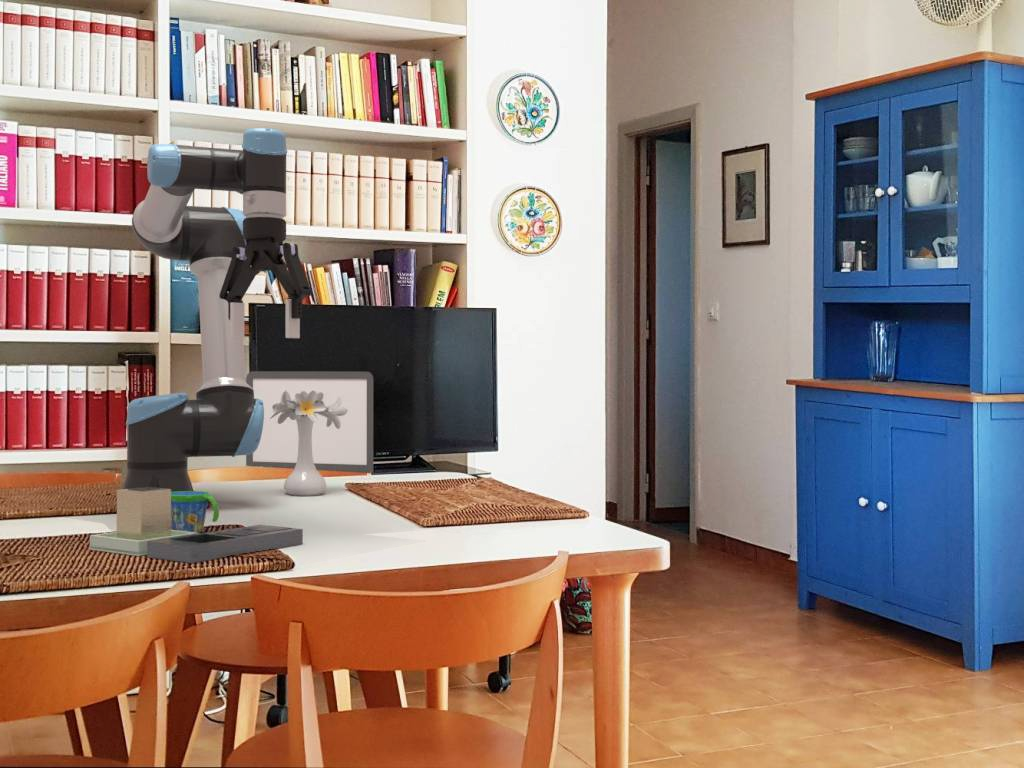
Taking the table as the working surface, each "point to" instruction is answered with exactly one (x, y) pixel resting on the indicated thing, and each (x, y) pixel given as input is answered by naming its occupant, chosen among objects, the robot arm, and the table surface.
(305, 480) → the flower vase
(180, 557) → the grey compartment tray
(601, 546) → the table surface
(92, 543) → the parts tray
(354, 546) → the table surface
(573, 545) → the table surface
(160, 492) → the square wooden post
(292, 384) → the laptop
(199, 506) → the snack cup
